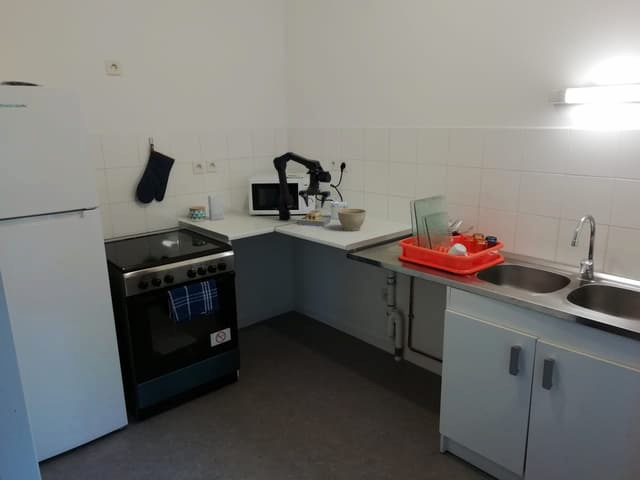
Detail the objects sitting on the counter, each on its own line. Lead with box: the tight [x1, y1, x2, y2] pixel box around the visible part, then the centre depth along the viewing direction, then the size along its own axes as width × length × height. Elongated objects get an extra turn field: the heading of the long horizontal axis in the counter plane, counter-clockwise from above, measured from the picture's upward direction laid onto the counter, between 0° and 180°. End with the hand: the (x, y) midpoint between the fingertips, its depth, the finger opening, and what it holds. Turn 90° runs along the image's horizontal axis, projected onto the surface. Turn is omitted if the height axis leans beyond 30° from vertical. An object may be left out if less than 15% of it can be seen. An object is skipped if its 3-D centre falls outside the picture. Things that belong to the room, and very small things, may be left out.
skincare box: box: [207, 193, 225, 222], centre depth 315 cm, size 8×7×16 cm
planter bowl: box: [338, 208, 367, 232], centre depth 286 cm, size 16×16×11 cm
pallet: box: [306, 210, 323, 220], centre depth 302 cm, size 6×10×4 cm, turn 161°
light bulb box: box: [330, 201, 348, 220], centre depth 317 cm, size 11×7×11 cm, turn 84°
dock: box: [298, 215, 331, 227], centre depth 303 cm, size 16×13×3 cm
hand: (314, 207), depth 301 cm, fingers open, 9 cm apart
